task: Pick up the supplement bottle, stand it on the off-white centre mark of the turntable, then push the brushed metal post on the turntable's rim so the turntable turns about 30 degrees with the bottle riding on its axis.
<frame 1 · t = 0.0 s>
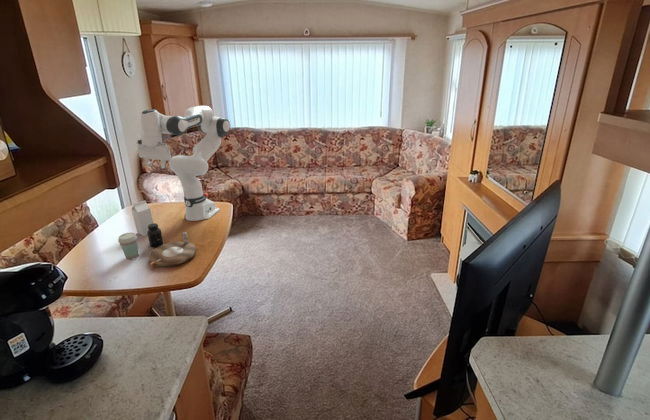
hand: (156, 167, 196), 39 cm above the table, tool pointing down, fingers open, 8 cm apart
turntable: (171, 247, 182), point 5 cm above the table, hinge at 0.0°
coffee cup: (132, 257, 185), on the table
supplement bottle: (157, 245, 196), on the table
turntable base: (173, 256, 184), on the table
milk carton: (146, 232, 211), on the table
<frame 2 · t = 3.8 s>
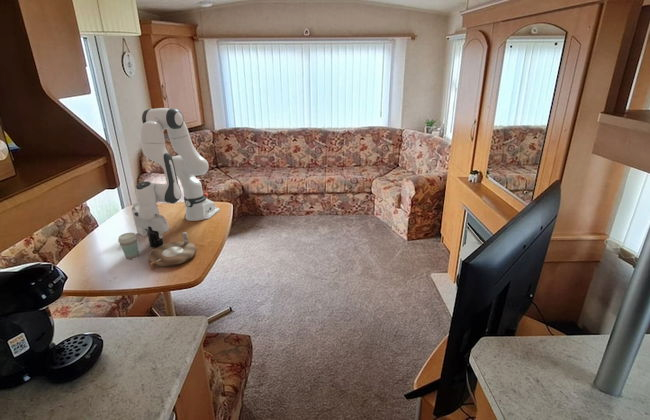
hand: (154, 236, 194), 5 cm above the table, tool pointing down, fingers closed on supplement bottle, 7 cm apart
supplement bottle: (157, 245, 196), on the table, touching gripper
everything else where it was.
when the fingers open (9 cm above the table, at t = 12.1 s): supplement bottle stays where it is, resting on turntable.
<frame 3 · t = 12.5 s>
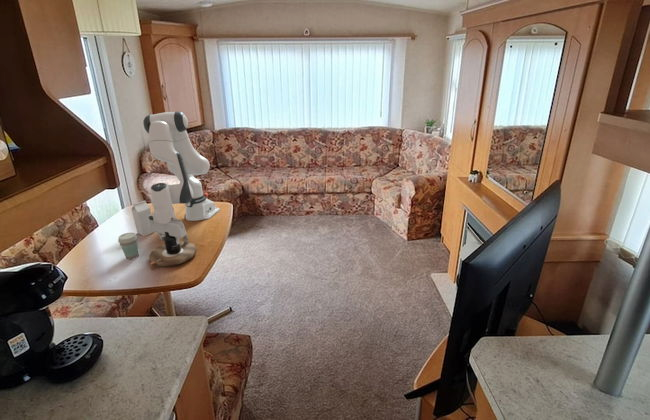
hand: (170, 241, 181), 9 cm above the table, tool pointing down, fingers open, 8 cm apart
turntable: (171, 247, 182), point 5 cm above the table, hinge at 0.0°, touching supplement bottle
supplement bottle: (174, 252, 183), point 3 cm above the table, touching gripper, turntable
everything else where it was.
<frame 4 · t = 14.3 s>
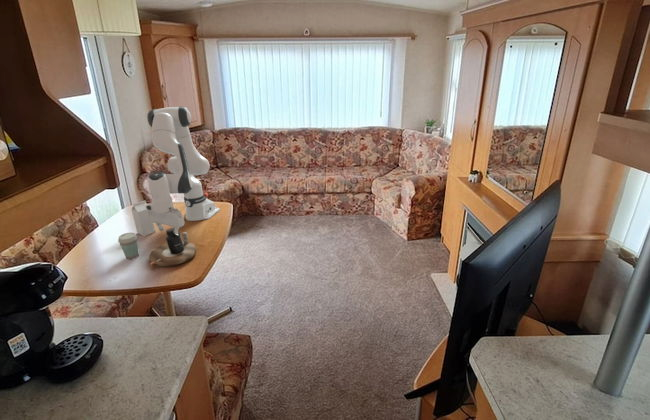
hand: (168, 232, 179), 14 cm above the table, tool pointing down, fingers open, 8 cm apart
supplement bottle: (177, 251, 182), point 3 cm above the table, touching gripper, turntable
everything else where it was.
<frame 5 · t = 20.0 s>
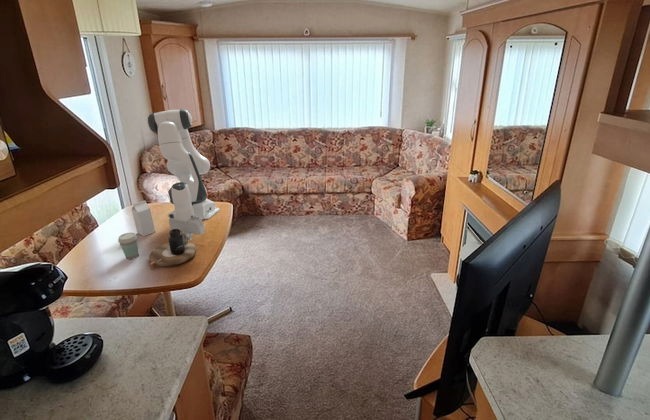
hand: (189, 238, 189), 6 cm above the table, tool pointing down, fingers closed
turntable: (171, 247, 182), point 5 cm above the table, hinge at 2.5°, touching gripper, supplement bottle
supplement bottle: (178, 252, 182), point 3 cm above the table, touching turntable
everything else where it was.
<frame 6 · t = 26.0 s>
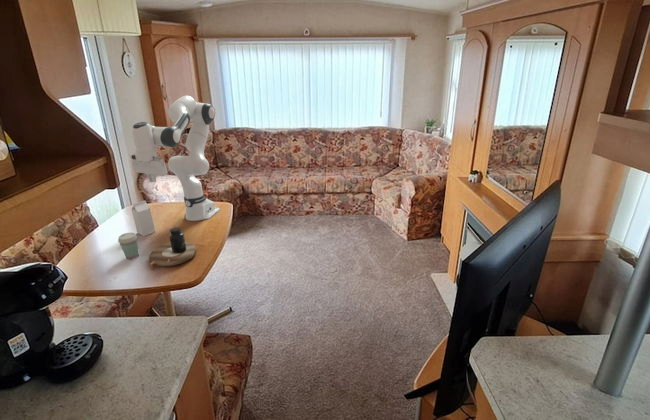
hand: (152, 181, 188), 34 cm above the table, tool pointing down, fingers closed
turntable: (171, 247, 182), point 5 cm above the table, hinge at 33.2°, touching supplement bottle
supplement bottle: (179, 250, 184), point 3 cm above the table, touching turntable
everything else where it was.
at the end: supplement bottle 3.3 cm from the turntable (horizontally); supplement bottle tilted 0°; turntable at +33° (first picture: +0°) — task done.
